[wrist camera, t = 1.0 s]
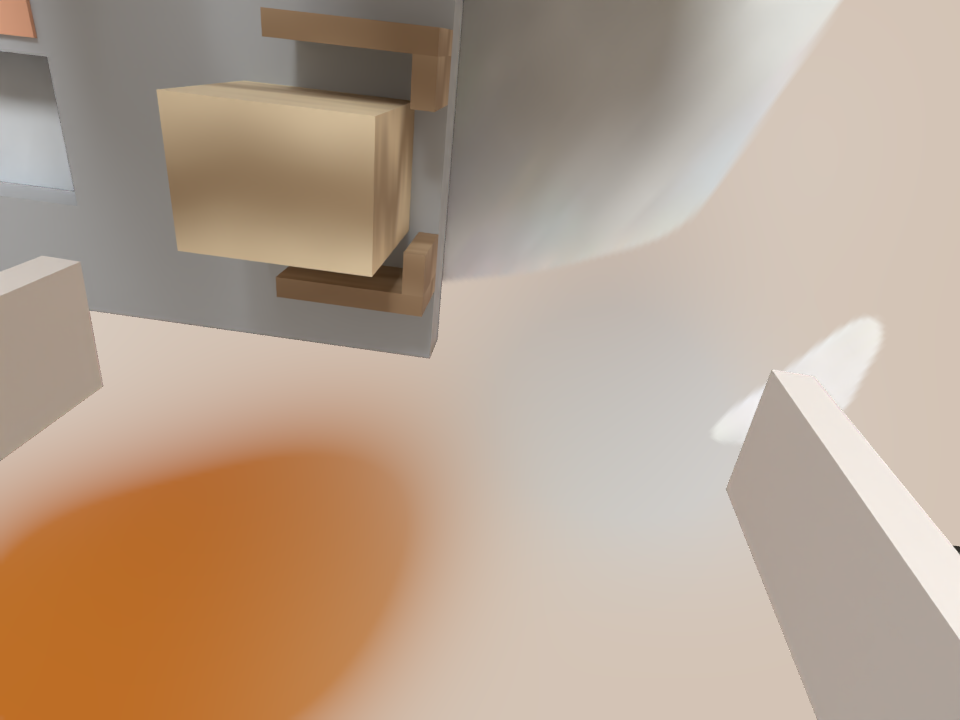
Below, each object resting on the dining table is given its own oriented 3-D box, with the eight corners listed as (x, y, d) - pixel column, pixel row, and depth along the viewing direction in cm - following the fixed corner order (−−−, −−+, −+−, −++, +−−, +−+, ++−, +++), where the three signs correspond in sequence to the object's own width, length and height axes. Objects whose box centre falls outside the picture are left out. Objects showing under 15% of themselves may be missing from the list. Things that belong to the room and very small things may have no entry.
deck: (-169, -181, 27) (-238, -203, 25) (472, -116, 26) (463, -132, 23) (-31, 273, 37) (-71, 289, 35) (437, 339, 36) (429, 360, 33)
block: (244, 80, 28) (156, 89, 22) (415, 100, 28) (375, 116, 21) (253, 210, 31) (177, 250, 25) (408, 230, 30) (371, 276, 24)
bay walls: (294, 11, 27) (260, 6, 23) (453, 29, 26) (439, 27, 23) (303, 272, 32) (276, 296, 29) (434, 290, 32) (421, 316, 29)
